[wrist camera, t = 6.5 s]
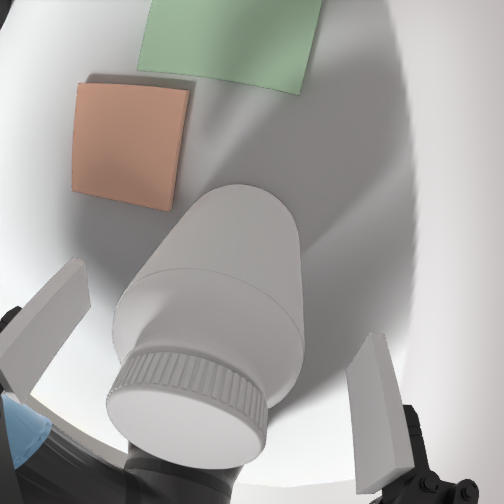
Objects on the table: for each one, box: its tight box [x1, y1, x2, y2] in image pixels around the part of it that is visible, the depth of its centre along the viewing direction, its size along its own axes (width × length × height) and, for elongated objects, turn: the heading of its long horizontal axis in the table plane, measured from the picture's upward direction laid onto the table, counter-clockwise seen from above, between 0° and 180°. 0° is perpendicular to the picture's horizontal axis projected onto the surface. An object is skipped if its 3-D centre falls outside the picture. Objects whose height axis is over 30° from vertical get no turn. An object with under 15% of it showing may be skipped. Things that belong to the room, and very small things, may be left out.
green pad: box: [137, 0, 322, 95], centre depth 14 cm, size 10×10×1 cm
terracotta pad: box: [72, 83, 190, 212], centre depth 19 cm, size 8×8×1 cm
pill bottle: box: [106, 184, 305, 469], centre depth 15 cm, size 8×8×15 cm
